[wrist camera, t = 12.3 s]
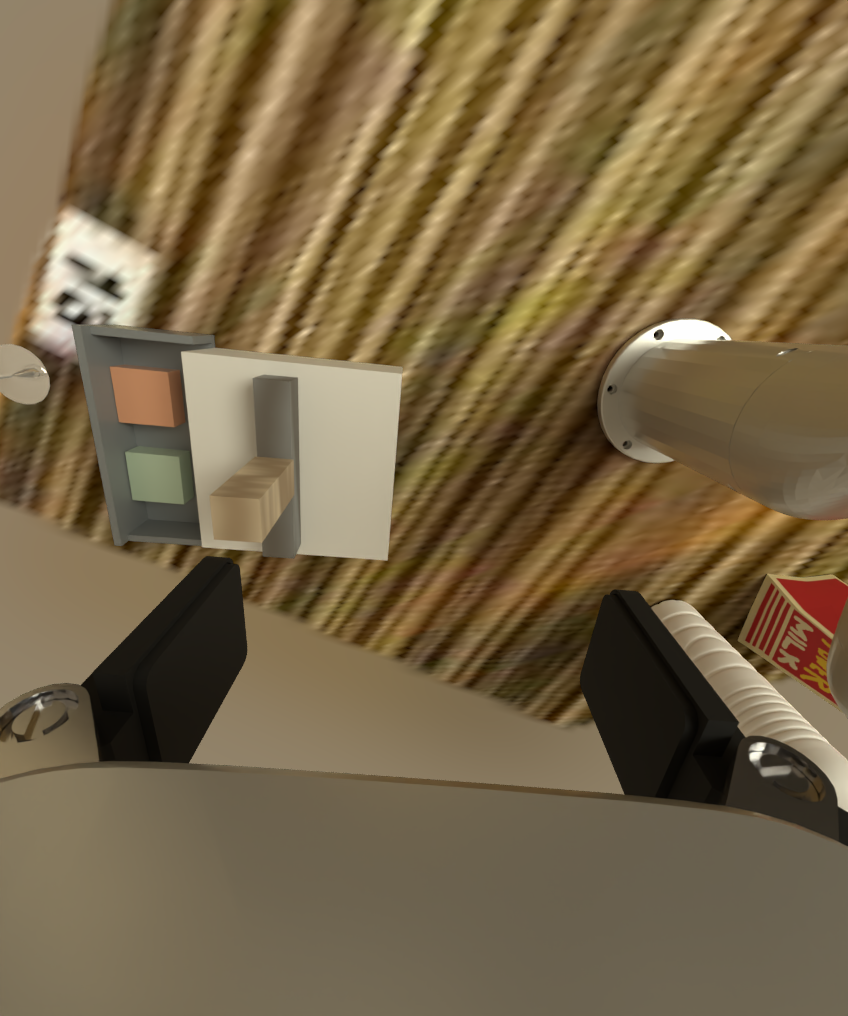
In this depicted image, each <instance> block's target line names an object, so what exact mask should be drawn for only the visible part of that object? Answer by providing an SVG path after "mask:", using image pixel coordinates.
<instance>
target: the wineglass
mask: <svg viewBox="0 0 848 1016" xmlns="http://www.w3.org/2000/svg"><path fill="white" fill-rule="evenodd" d="M49 388H50V381H49V376H48V373H47V371H46V368H45V367H44V365H43V364H42V362H41V361H40V360H39V359H38V358H37V357H36V356H35V355H34V354H33V353H32V352H30V351H28V350H26V349H25V348H23V347H21V346H17V345H13V344H4V345H0V392H1V393H2V394H4V395H5V396H6V397H7V398H9V399H11V400H13V401H15V402H18V403H22V404H36V403H38V402H40V401H42V400H43V399H44V398H45V397H46V396H47V394H48V391H49Z"/></svg>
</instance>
